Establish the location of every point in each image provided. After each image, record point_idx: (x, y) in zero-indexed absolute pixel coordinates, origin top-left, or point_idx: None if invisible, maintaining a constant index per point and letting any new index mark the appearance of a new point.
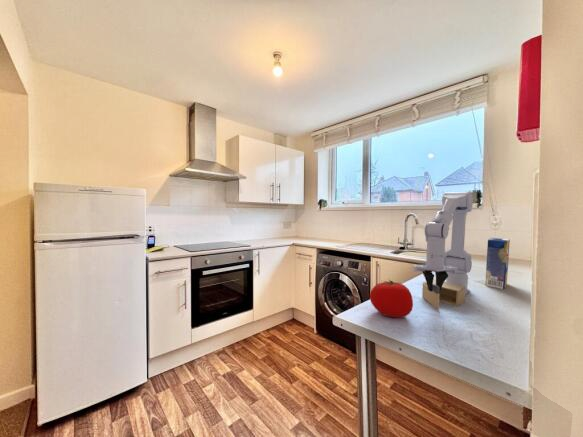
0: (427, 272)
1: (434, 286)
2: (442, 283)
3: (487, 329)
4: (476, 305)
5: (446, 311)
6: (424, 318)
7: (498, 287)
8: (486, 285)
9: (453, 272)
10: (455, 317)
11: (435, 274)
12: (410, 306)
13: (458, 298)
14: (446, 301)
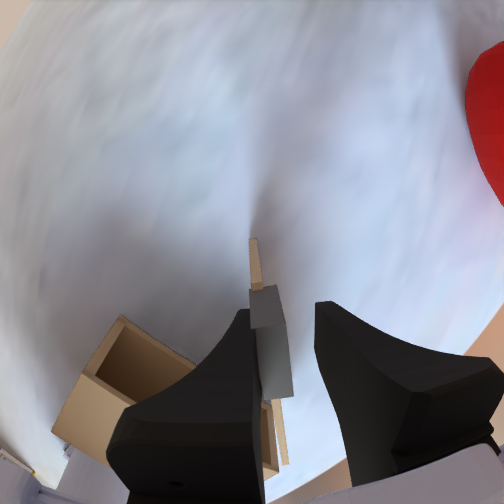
0: (468, 443)
1: (288, 358)
2: (218, 354)
3: (85, 47)
4: (44, 339)
5: (207, 223)
6: (380, 90)
7: (8, 455)
8: (32, 470)
9: (37, 482)
10: (183, 141)
11: (264, 497)
12: (499, 44)
13: (100, 344)
14: (166, 355)
